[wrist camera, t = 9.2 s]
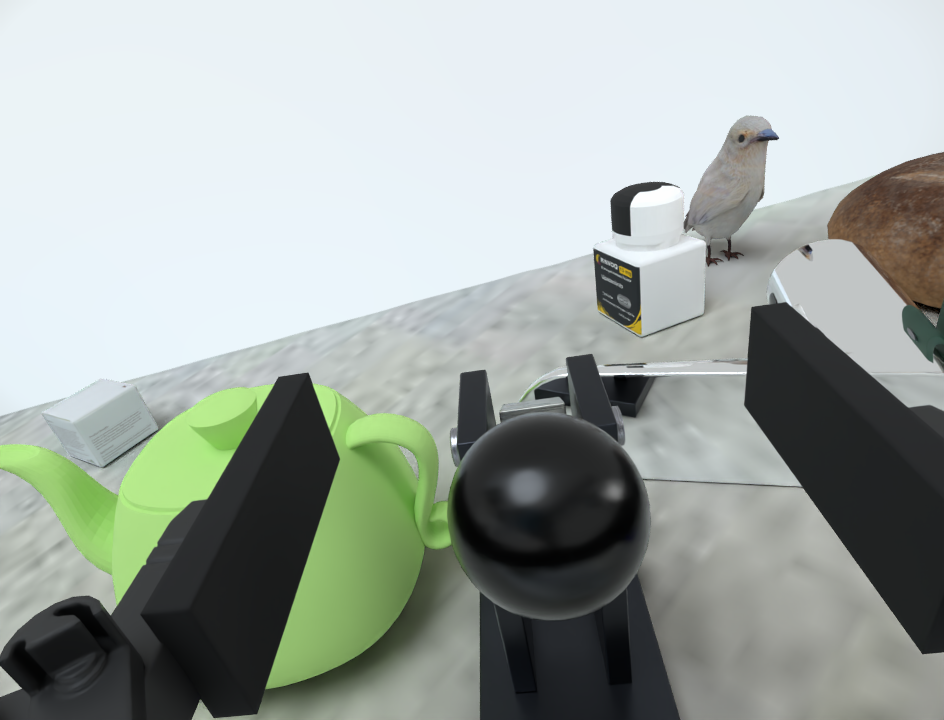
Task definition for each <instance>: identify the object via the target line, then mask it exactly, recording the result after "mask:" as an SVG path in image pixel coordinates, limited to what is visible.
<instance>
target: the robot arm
mask: <svg viewBox="0 0 944 720" xmlns="http://www.w3.org/2000/svg"><path fill="white" fill-rule="evenodd" d="M744 406H745V408H746V409H747V410H748V412H749V413H750V415H751V416H752V417H753V419H754V420H755V422H756V423H757V424H758V426H759V427H760V429H761V430H762V431H763V433H764V434H765V435H766V437H767V438H768V440H769V441H770V442H771V444H772V445H773V447H774V448H775V449H776V451H777V452H778V454H779V455H780V456H781V458H782V459H783V461H784V462H785V463H786V465H787V466H788V468H789V469H790V470H791V472H792V473H793V474H794V476H795V477H796V479H797V480H798V481H799V483H800V484H801V486H802V487H803V488H804V490H805V491H806V493H807V494H808V495H809V497H810V498H811V500H812V501H813V502H814V504H815V505H816V507H817V508H818V509H819V511H820V512H821V513H822V515H823V516H824V518H825V519H826V520H827V522H828V523H829V525H830V526H831V527H832V529H833V530H834V532H835V533H836V534H837V536H838V537H839V539H840V540H841V541H842V543H843V544H844V545H845V547H846V548H847V550H848V551H849V552H850V554H851V555H852V557H853V558H854V559H855V561H856V562H857V564H858V565H859V566H860V568H861V569H862V571H863V572H864V573H865V575H866V576H867V578H868V579H869V580H870V582H871V583H872V584H873V586H874V587H875V589H876V590H877V591H878V593H879V594H880V596H881V597H882V598H883V600H884V601H885V603H886V604H887V605H888V607H889V608H890V610H891V611H892V612H893V614H894V615H895V617H896V618H897V619H898V621H899V622H900V623H901V625H902V626H903V628H904V629H905V630H906V632H907V633H908V635H909V636H910V637H911V639H912V640H913V642H914V643H915V644H916V646H917V647H918V649H919V650H920V651H921V653H922V654H929V653H941V652H944V411H943V410H940V409H938V408H936V407H934V406H932V405H924V406H916V407H907V406H906V405H905V404H904V403H902V402H901V401H900V400H899V399H898V398H897V397H895V396H894V395H893V394H892V393H891V392H890V391H889V390H887V389H886V388H885V387H884V386H883V385H882V384H880V383H879V382H878V381H877V380H876V379H875V378H873V377H872V376H871V375H870V374H869V373H868V372H867V371H865V370H864V369H863V368H862V367H861V366H860V365H858V364H857V363H856V362H855V361H854V360H853V359H852V358H850V357H849V356H848V355H847V354H846V353H845V352H843V351H842V350H841V349H840V348H839V347H838V346H837V345H835V344H834V343H833V342H832V341H831V340H830V339H828V338H827V337H826V336H825V335H824V334H823V333H821V332H820V331H819V330H818V329H817V328H816V327H815V326H813V325H812V324H811V323H810V322H809V321H808V320H806V319H805V318H804V317H803V316H802V315H801V314H800V313H798V312H797V311H796V310H795V309H794V308H793V307H791V306H790V305H789V304H788V303H787V302H783V303H776V304H769V305H762V306H756V307H752V308H751V321H750V334H749V347H748V360H747V373H746V386H745V399H744ZM339 461H340V457H339V454H338V452H337V449H336V446H335V443H334V441H333V438H332V435H331V433H330V430H329V427H328V424H327V422H326V419H325V416H324V414H323V411H322V408H321V405H320V403H319V400H318V397H317V395H316V392H315V389H314V386H313V384H312V381H311V378H310V376H309V373H302V374H295V375H289V376H282V377H278V379H277V381H276V382H275V384H274V386H273V388H272V389H271V391H270V393H269V394H268V396H267V398H266V400H265V401H264V403H263V405H262V406H261V408H260V410H259V412H258V413H257V415H256V417H255V418H254V420H253V422H252V424H251V425H250V427H249V429H248V430H247V432H246V434H245V436H244V437H243V439H242V441H241V442H240V444H239V446H238V448H237V449H236V451H235V453H234V454H233V456H232V458H231V460H230V461H229V463H228V465H227V466H226V468H225V470H224V471H223V473H222V475H221V477H220V478H219V480H218V482H217V483H216V485H215V487H214V489H213V490H212V492H211V494H210V495H209V497H208V499H205V500H197V501H192V502H191V503H190V504H189V505H187V506H186V507H185V508H184V509H183V510H182V511H181V512H180V513H179V514H178V515H177V516H176V517H175V518H174V519H172V520H171V522H170V523H169V525H168V526H167V528H166V529H165V531H164V533H163V534H162V536H161V537H160V539H159V540H158V542H157V547H154V548H153V550H152V552H151V553H150V555H149V556H148V558H147V559H146V565H143V566H142V567H141V569H140V570H139V572H138V574H137V575H136V577H135V578H134V580H133V582H132V583H131V585H130V586H129V588H128V589H127V591H126V593H125V594H124V596H123V597H122V599H121V600H120V602H119V604H118V605H117V607H116V608H115V610H114V612H113V613H112V615H111V616H110V614H109V613H108V612H107V611H106V609H105V608H104V607H103V605H102V604H101V603H100V601H99V600H97V599H95V598H93V597H90V596H78V597H71V598H69V599H66V600H63V601H61V602H58V603H55V604H53V605H52V606H50V607H48V608H47V609H45V610H43V611H42V612H40V613H38V614H37V615H35V616H34V617H33V618H32V619H30V620H29V621H28V622H27V623H26V624H25V625H23V626H22V627H21V628H20V629H19V630H18V631H17V632H16V633H15V634H14V635H13V637H12V638H11V639H10V640H9V642H8V643H7V644H6V645H5V647H4V649H3V651H2V653H1V655H0V666H1V667H2V668H3V669H4V670H5V671H6V672H7V673H8V674H9V675H10V676H11V677H12V678H13V680H14V681H15V682H16V683H17V684H18V685H19V686H20V687H21V688H22V689H20V690H18V691H15V692H13V693H10V694H7V695H5V696H2V697H0V720H192V717H193V715H194V712H195V710H196V708H197V705H198V703H199V700H200V699H201V700H202V702H203V703H204V705H205V706H206V707H207V709H208V710H209V712H210V713H211V714H212V716H213V717H214V718H220V717H231V716H242V715H253V714H257V713H258V710H259V706H260V703H261V700H262V697H263V694H264V691H265V688H266V685H267V682H268V679H269V676H270V673H271V670H272V667H273V664H274V660H275V657H276V654H277V651H278V648H279V645H280V642H281V639H282V636H283V633H284V630H285V627H286V624H287V621H288V618H289V614H290V611H291V608H292V605H293V602H294V599H295V596H296V593H297V590H298V587H299V584H300V581H301V578H302V575H303V572H304V568H305V565H306V562H307V559H308V556H309V553H310V550H311V547H312V544H313V541H314V538H315V535H316V532H317V529H318V525H319V522H320V519H321V516H322V513H323V510H324V507H325V504H326V501H327V498H328V495H329V492H330V489H331V486H332V483H333V479H334V476H335V473H336V470H337V467H338V464H339Z"/></svg>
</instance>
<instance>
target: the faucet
mask: <svg viewBox="0 0 944 720" xmlns="http://www.w3.org/2000/svg"><path fill="white" fill-rule="evenodd" d="M767 301H768V305H769V304H776V303H783V302H787V303H788V304H789V305H790V306H791V307H793V308H794V309H795V310H796V311H797V312H798V313H800V314H801V315H802V316H803V317H804V318H805V319H806V320H808V321H809V322H810V323H811V324H812V325H813V326H815V327H816V328H817V329H818V330H819V331H820V332H821V333H823V334H824V335H825V336H826V337H827V338H828V339H830V340H831V341H832V342H833V343H834V344H835V345H837V346H838V347H839V348H840V349H841V350H842V351H843V352H845V353H846V354H847V355H848V356H849V357H850V358H852V359H853V360H854V361H855V362H856V363H857V364H858V365H860V366H861V367H862V368H863V369H864V370H865V371H867V372H868V373H869V374H870V375H871V376H872V377H873V378H875V379H876V380H877V381H878V382H879V383H880V384H882V385H883V386H884V387H885V388H886V389H887V390H889V391H890V392H891V393H892V394H893V395H894V396H895V397H897V398H898V399H899V400H900V401H901V402H902V403H904V404H905V405H906V406H907V407H916V406H924V405H932V406H934V407H936V408H938V409H940V410H943V411H944V337H943V336H942V335H941V334H940V332H939V331H938V330H937V329H936V328H935V327H934V325H933V324H932V323H931V322H930V321H929V320H928V318H927V317H926V316H925V315H924V314H923V313H922V311H921V310H920V309H919V308H918V307H917V306H916V304H915V303H914V302H913V301H912V300H911V299H910V297H909V296H908V295H907V294H906V293H905V292H904V291H903V289H902V288H901V287H900V286H899V285H898V284H897V282H896V281H895V280H894V279H893V278H892V277H891V275H890V274H889V273H888V272H887V271H886V270H885V268H884V267H883V266H882V265H881V264H880V263H879V261H878V260H877V259H876V258H875V257H874V256H873V255H872V253H871V252H870V251H868V250H867V249H866V248H864V247H863V246H861V245H859V244H856V243H854V242H851V241H846V240H841V239H827V240H820V241H815V242H812V243H809V244H806V245H804V246H802V247H800V248H798V249H796V250H794V251H793V252H791V253H790V254H788V255H787V256H786V257H785V258H784V259H783V260H782V261H781V262H780V263H779V264H778V265H777V266H776V268H775V269H774V270H773V272H772V274H771V276H770V278H769V281H768V285H767ZM747 360H748V358H737V359H716V360H695V361H674V362H653V363H632V364H611V365H597V368H598V371H599V374H600V376H601V379H602V382H603V385H604V388H605V390H606V393H607V396H608V399H609V402H610V404H611V407H613V406H618V407H619V409H620V411H621V414H622V418H623V423H624V429H625V445H623V446H622V447H623V448H624V450H625V451H626V452H627V453H628V455H629V456H630V458H631V459H632V460H633V462H634V463H635V465H636V467H637V469H638V471H639V473H640V475H641V476H642V479H660V480H680V481H700V482H720V483H740V484H760V485H780V486H800V487H802V486H801V484H800V483H799V481H798V480H797V479H796V477H795V476H794V474H793V473H792V472H791V470H790V469H789V468H788V466H787V465H786V463H785V462H784V461H783V459H782V458H781V456H780V455H779V454H778V452H777V451H776V449H775V448H774V447H773V445H772V444H771V442H770V441H769V440H768V438H767V437H766V435H765V434H764V433H763V431H762V430H761V429H760V427H759V426H758V424H757V423H756V422H755V420H754V419H753V417H752V416H751V415H750V413H749V412H748V410H747V409H746V408H745V406H744V399H745V386H746V373H747ZM554 397H560V398H561V399H562V401H563V402H564V403H565V407H566V414H567V415H571V416H572V412H571V403H570V393H569V384H568V374H567V366H562V367H557V368H556V369H554V370H553V371H550V372H547V373H545V374H544V375H542V376H541V377H540V378H538V379H537V380H535V381H534V382H533V383H531V384H530V385H529V387H528V388H527V389H526V390H525V392H524V393H523V394H522V396H521V398H520V399H519V402H525V401H532V400H539V399H547V398H554Z"/></svg>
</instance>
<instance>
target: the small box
mask: <svg viewBox="0 0 944 720" xmlns="http://www.w3.org/2000/svg"><path fill="white" fill-rule="evenodd" d="M41 414H42V415H43V417H44V419H45V420H46V422H47V423H48V425H49V426H50V428H51V429H52V431H53V432H54V433H55V435H56V436H57V438H58V440H59V441H60V442H61V444H62V445H63V447H64V448H65V450H66V452H67V453H68V454H69V455H70V456H72V457H75V458H78V459H81V460H83V461H86V462H88V463H91V464H94V465H96V466H99V467H104V466H105V465H106V464H108V463H109V462H111V461H112V460H114V459H115V458H116V457H118V456H119V455H121V454H122V453H124V452H125V451H127V450H128V449H130V448H131V447H133V446H134V445H135V444H137V443H138V442H140V441H141V440H143V439H144V438H146V437H147V436H149V435H150V434H152V433H153V432H155V431H156V430H158V429H159V428H158V426H157V424H156V422H155V420H154V419H153V417H152V415H151V413H150V411H149V409H148V408H147V406H146V404H145V402H144V400H143V398H142V397H141V395H140V393H139V391H138V389H137V387H136V386H135V385H132V384H127V383H122V382H117V381H112V380H107V379H99V380H97V381H96V382H94V383H92V384H91V385H89V386H87V387H85V388H84V389H82V390H80V391H78V392H77V393H75V394H73V395H71V396H70V397H68V398H66V399H64V400H62V401H61V402H59V403H57V404H55V405H53V406H52V407H50V408H48V409H46V410H44V411H43V412H41Z"/></svg>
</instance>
